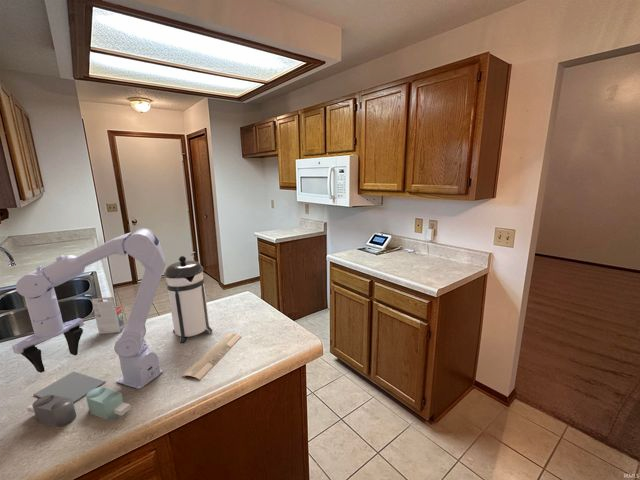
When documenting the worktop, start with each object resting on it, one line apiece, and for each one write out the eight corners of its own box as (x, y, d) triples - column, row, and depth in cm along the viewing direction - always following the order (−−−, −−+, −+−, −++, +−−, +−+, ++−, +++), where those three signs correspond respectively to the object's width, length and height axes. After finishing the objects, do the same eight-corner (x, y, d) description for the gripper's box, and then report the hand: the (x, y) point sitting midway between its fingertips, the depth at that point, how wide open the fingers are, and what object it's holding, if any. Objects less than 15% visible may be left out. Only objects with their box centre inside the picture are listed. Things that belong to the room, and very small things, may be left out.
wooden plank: (226, 336, 109) (226, 332, 109) (244, 339, 108) (243, 334, 107) (182, 379, 87) (181, 374, 87) (203, 383, 85) (202, 377, 85)
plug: (80, 414, 74) (76, 399, 73) (63, 428, 71) (59, 412, 70) (44, 407, 77) (39, 392, 76) (26, 419, 74) (21, 404, 73)
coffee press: (222, 322, 118) (214, 250, 111) (199, 345, 103) (188, 263, 96) (183, 320, 121) (172, 249, 114) (155, 342, 106) (141, 261, 99)
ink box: (104, 329, 116) (96, 294, 112) (125, 328, 116) (119, 293, 113) (98, 334, 112) (90, 298, 109) (120, 333, 113) (113, 297, 110)
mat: (105, 382, 86) (105, 381, 86) (66, 408, 77) (66, 406, 77) (74, 372, 91) (73, 371, 91) (33, 395, 82) (33, 394, 82)
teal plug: (85, 411, 76) (82, 396, 75) (101, 400, 79) (98, 385, 78) (119, 424, 71) (116, 408, 70) (134, 411, 75) (131, 396, 74)
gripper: (68, 302, 84) (78, 344, 88) (-1, 327, 71) (14, 376, 74) (84, 305, 82) (94, 349, 85) (16, 332, 69) (30, 382, 72)
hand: (58, 362), depth 80 cm, fingers open, 7 cm apart
